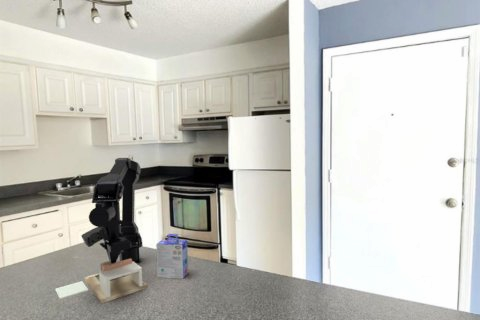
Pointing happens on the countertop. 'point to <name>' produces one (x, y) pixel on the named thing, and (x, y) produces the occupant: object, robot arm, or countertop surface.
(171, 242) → the ink cartridge box
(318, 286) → the countertop surface
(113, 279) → the walnut block
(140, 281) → the panel
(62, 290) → the coaster pad
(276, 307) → the countertop surface
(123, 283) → the puzzle board
